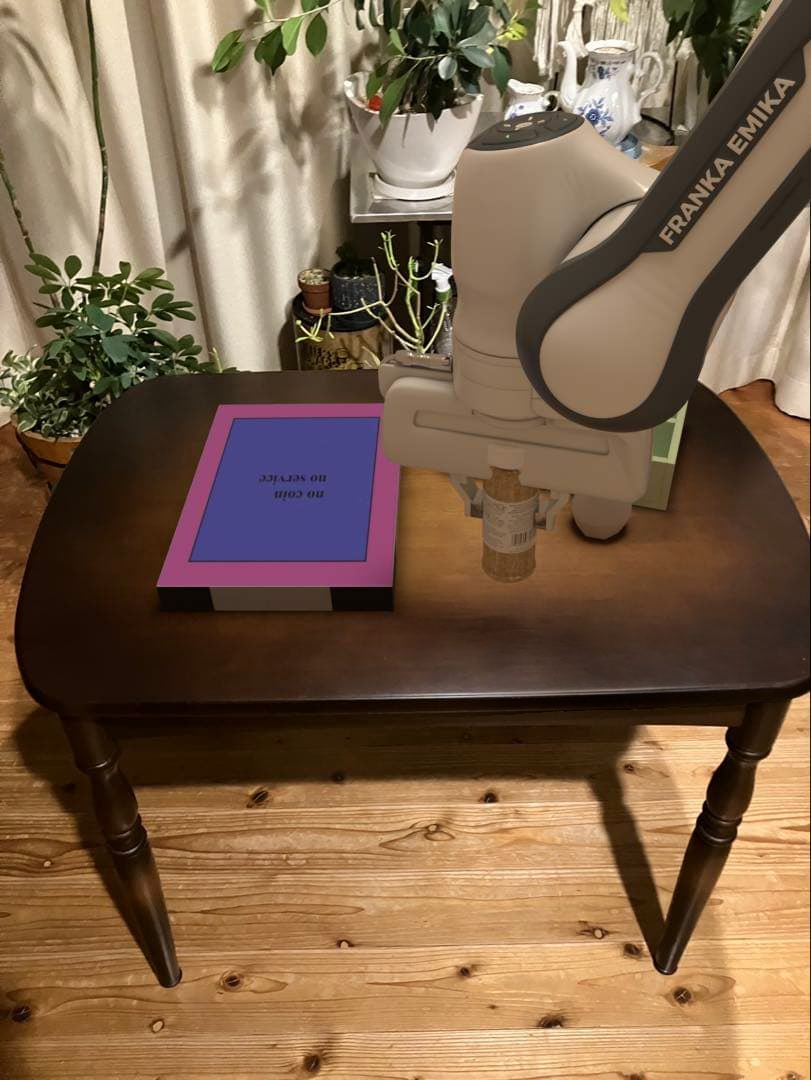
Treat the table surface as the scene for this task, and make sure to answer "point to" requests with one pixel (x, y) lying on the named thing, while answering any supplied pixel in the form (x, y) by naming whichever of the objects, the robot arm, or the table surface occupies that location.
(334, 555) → the book
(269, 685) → the table surface
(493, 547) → the sprinkles bottle
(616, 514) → the salt shaker
